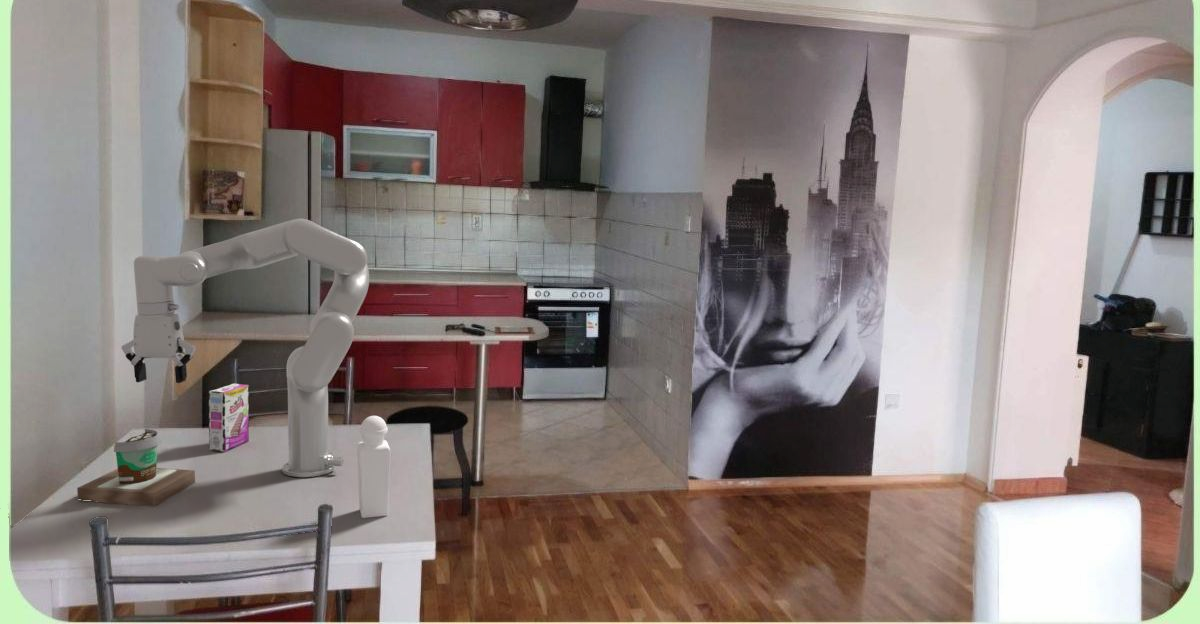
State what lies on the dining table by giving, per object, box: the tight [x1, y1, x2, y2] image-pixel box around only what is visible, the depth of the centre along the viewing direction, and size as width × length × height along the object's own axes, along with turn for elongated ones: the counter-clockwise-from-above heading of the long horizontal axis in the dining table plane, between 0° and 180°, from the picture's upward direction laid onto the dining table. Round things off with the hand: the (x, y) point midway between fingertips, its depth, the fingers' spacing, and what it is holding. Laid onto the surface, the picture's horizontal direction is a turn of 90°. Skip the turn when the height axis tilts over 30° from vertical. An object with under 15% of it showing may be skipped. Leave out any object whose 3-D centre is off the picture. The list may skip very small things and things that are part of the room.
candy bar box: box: [208, 383, 250, 453], centre depth 233 cm, size 11×5×16 cm, turn 169°
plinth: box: [76, 467, 196, 507], centre depth 197 cm, size 18×16×3 cm
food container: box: [113, 428, 162, 484], centre depth 197 cm, size 12×6×10 cm, turn 176°
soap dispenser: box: [356, 415, 391, 519], centre depth 188 cm, size 6×6×22 cm
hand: (161, 381), depth 200 cm, fingers open, 9 cm apart
